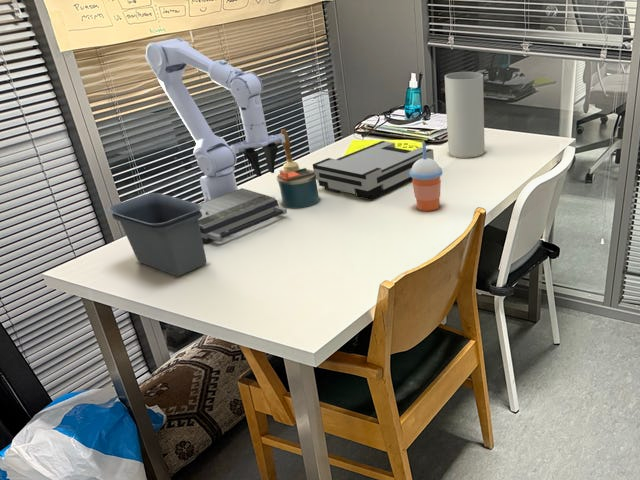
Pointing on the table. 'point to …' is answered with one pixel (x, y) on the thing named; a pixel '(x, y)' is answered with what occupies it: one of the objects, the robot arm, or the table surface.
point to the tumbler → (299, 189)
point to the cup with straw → (426, 182)
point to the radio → (235, 213)
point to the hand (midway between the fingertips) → (265, 173)
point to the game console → (369, 170)
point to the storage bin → (163, 231)
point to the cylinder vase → (465, 114)
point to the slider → (288, 174)
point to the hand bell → (288, 153)
